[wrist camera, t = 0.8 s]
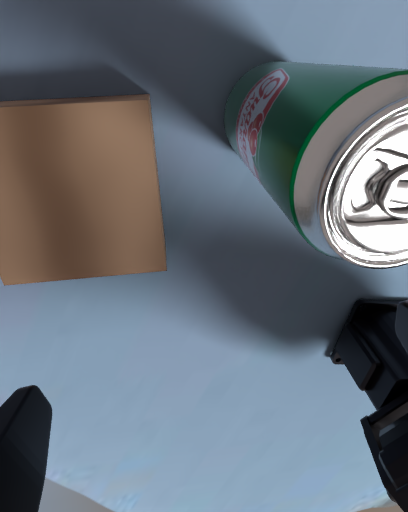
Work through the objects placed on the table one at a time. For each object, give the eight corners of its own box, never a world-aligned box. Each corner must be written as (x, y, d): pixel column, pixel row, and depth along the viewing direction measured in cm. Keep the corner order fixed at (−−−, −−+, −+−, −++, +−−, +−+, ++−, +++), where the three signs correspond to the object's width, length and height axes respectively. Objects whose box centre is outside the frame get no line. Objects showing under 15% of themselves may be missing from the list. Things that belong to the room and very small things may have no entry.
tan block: (149, 94, 17) (148, 99, 15) (165, 249, 22) (166, 270, 20) (-39, 103, 16) (-69, 110, 14) (19, 261, 21) (4, 285, 19)
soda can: (231, 52, 17) (349, 51, 6) (327, 69, 17) (566, 91, 7) (215, 156, 19) (280, 276, 9) (299, 166, 20) (447, 286, 10)
